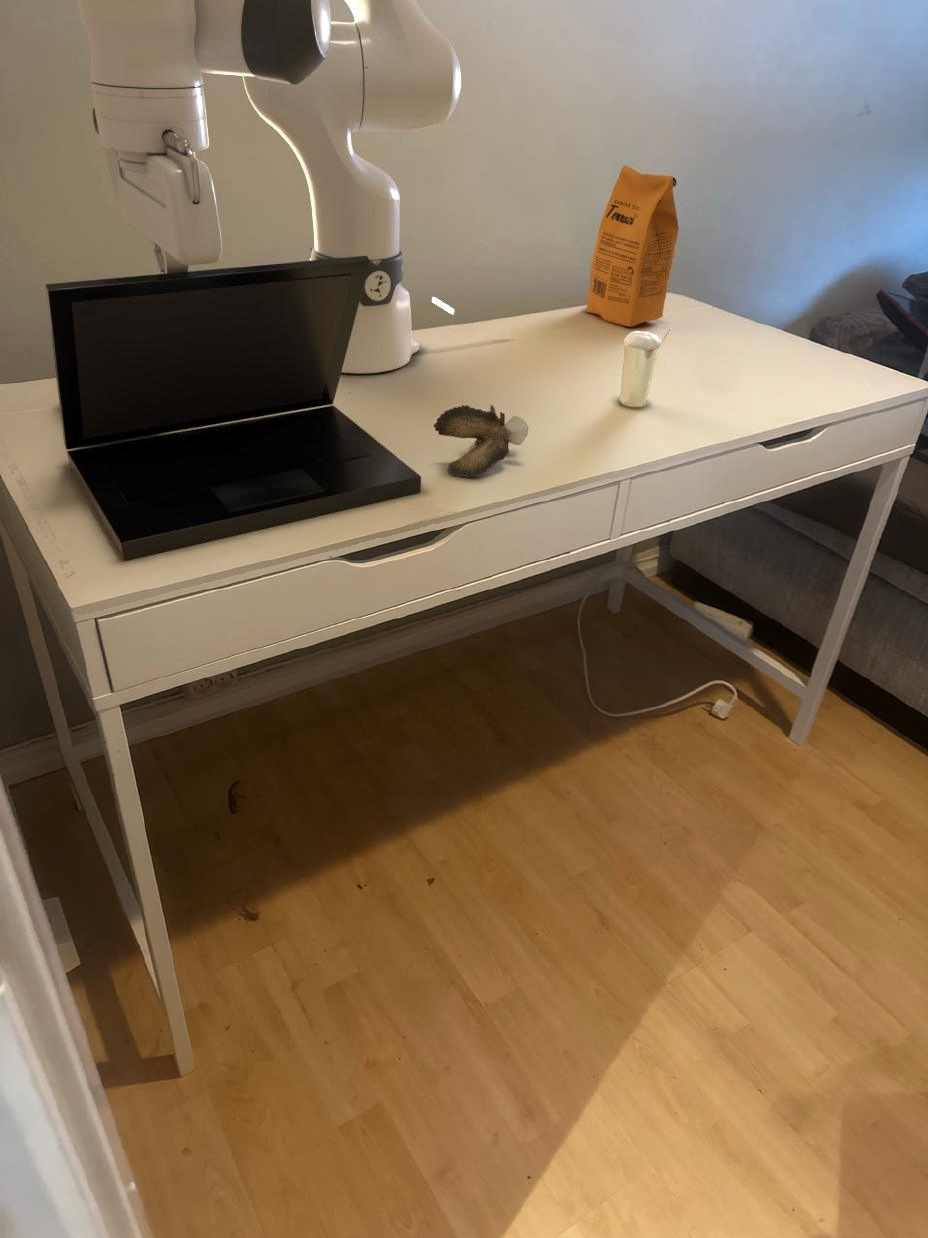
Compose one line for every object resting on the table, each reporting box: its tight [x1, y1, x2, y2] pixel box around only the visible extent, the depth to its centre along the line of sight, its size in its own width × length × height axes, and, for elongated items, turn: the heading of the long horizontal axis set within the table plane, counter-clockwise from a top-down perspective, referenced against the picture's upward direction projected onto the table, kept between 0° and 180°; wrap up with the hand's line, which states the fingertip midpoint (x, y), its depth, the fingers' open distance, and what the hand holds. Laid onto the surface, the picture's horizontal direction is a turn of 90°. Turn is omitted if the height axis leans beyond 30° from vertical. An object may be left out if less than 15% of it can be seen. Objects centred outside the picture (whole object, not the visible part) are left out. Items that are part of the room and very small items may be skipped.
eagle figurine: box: [433, 404, 530, 478], centre depth 97 cm, size 8×7×9 cm
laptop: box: [66, 404, 422, 561], centre depth 92 cm, size 21×30×2 cm
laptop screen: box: [45, 256, 370, 451], centre depth 90 cm, size 21×30×1 cm
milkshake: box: [619, 328, 672, 409], centre depth 113 cm, size 4×5×10 cm
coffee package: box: [585, 164, 680, 328], centre depth 141 cm, size 10×12×22 cm
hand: (175, 292), depth 83 cm, fingers closed
